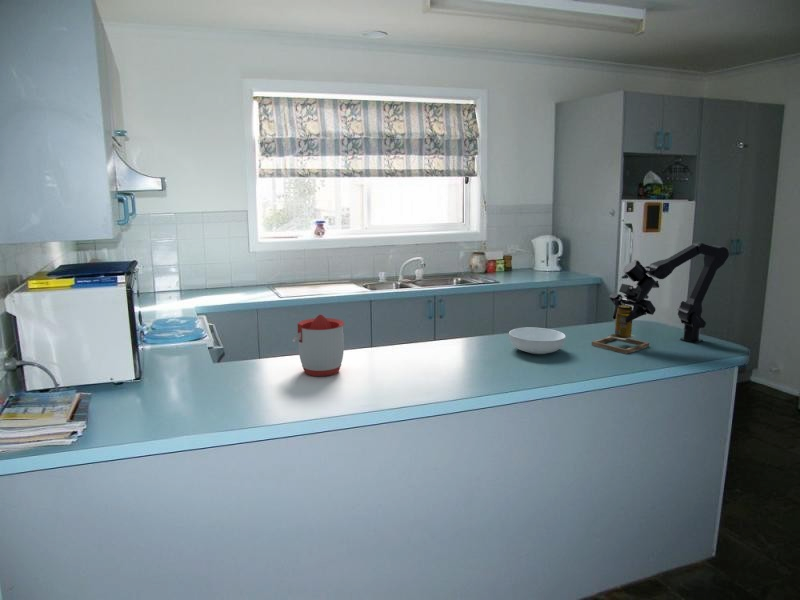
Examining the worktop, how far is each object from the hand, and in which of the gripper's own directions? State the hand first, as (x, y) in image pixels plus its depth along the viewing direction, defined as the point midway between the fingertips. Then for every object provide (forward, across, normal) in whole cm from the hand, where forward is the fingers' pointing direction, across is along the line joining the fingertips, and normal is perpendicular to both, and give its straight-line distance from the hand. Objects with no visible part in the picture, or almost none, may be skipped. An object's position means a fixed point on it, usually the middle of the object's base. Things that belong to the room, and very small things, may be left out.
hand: (619, 320), depth 236 cm
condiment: (+4, 0, +6) cm, 7 cm away
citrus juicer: (+87, -25, -74) cm, 117 cm away
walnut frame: (+7, 0, +8) cm, 11 cm away
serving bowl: (+30, -10, -15) cm, 35 cm away
